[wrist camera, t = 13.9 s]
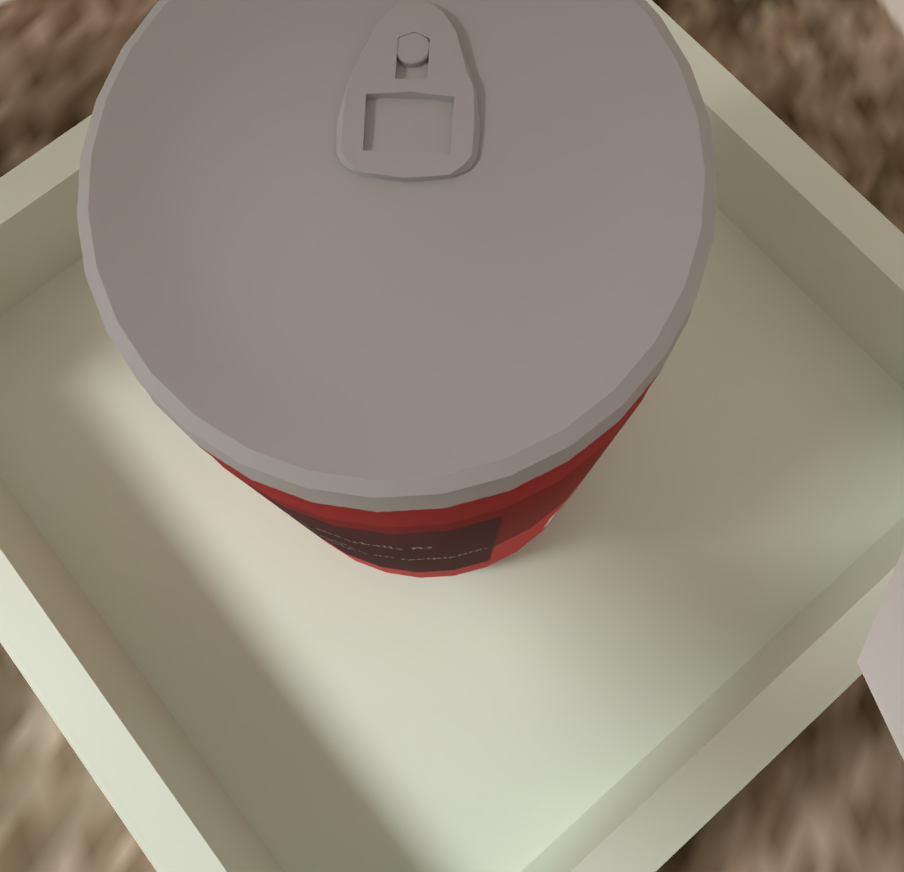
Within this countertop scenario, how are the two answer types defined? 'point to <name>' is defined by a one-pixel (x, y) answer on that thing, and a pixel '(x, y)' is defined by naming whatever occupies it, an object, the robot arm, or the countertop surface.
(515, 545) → the canned food
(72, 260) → the tray
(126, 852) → the countertop surface
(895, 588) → the robot arm
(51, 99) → the countertop surface
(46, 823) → the countertop surface
